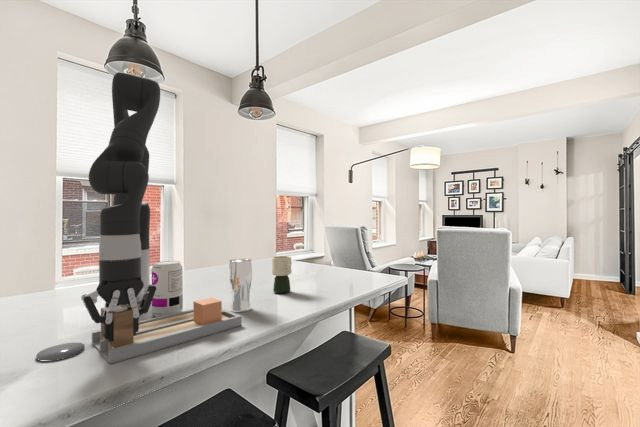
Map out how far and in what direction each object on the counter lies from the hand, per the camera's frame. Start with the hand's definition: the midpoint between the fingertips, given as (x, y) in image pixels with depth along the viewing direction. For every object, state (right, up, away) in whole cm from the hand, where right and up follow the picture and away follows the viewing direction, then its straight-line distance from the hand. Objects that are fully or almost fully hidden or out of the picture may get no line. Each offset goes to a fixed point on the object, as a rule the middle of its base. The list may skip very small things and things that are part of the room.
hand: (121, 337), depth 68 cm
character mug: (+28, -3, +51) cm, 59 cm away
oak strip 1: (+3, -3, +13) cm, 14 cm away
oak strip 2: (+8, -3, +8) cm, 12 cm away
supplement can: (-3, -3, +27) cm, 27 cm away
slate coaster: (-13, -3, 0) cm, 13 cm away
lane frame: (+5, -3, +11) cm, 12 cm away
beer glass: (+18, -3, +31) cm, 36 cm away
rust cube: (+13, -1, +14) cm, 19 cm away
